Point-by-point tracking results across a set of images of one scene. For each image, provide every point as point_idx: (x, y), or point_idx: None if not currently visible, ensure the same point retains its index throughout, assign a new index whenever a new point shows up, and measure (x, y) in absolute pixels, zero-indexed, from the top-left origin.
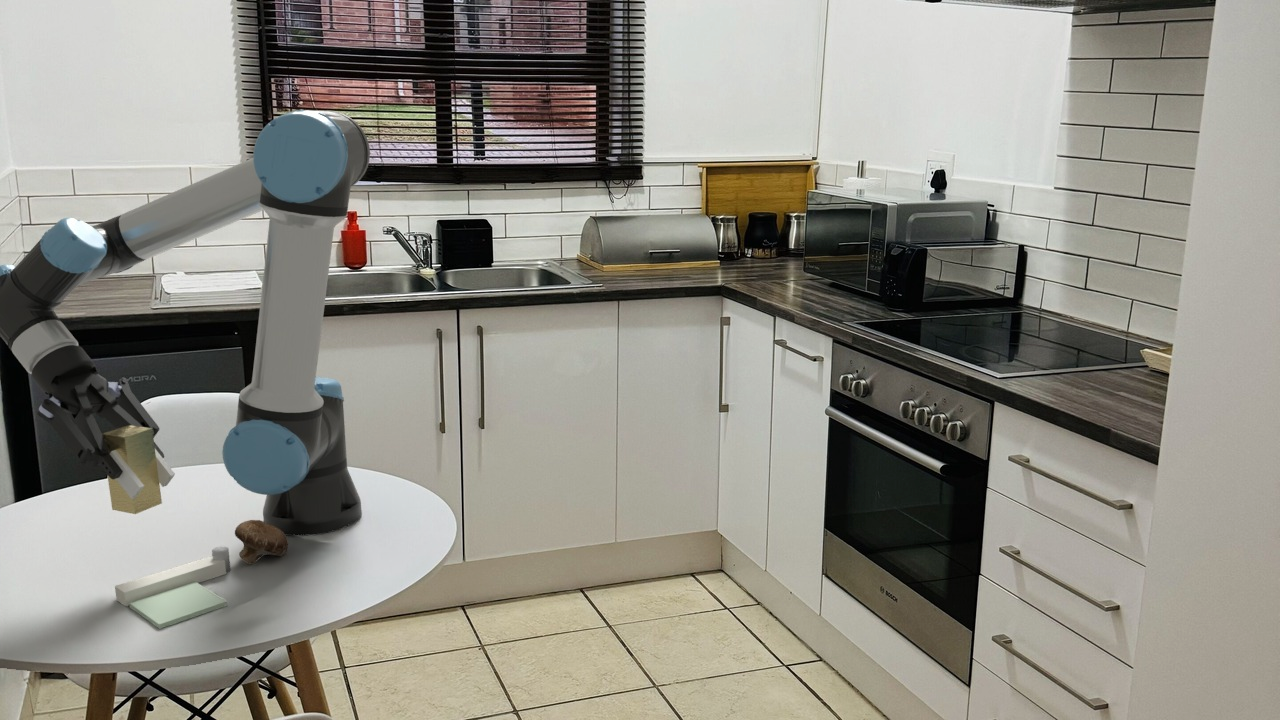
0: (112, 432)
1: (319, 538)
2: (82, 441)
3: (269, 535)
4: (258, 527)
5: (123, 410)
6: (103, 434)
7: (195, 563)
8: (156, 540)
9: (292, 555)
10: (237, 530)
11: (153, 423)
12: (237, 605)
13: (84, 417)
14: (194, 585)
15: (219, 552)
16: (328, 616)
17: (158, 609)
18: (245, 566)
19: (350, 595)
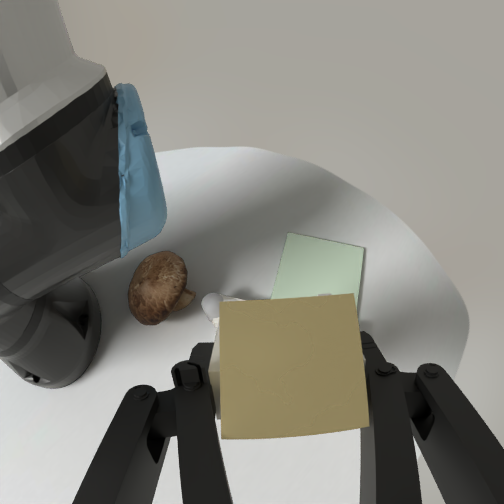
0: (335, 405)
1: (98, 281)
2: (452, 395)
3: (166, 254)
4: (162, 267)
5: (188, 498)
6: (368, 415)
7: None
8: (180, 480)
9: None
10: (176, 294)
11: (128, 408)
12: (281, 227)
13: (420, 497)
14: (277, 296)
15: (221, 296)
16: (254, 153)
17: (344, 278)
18: (195, 298)
19: (212, 164)
